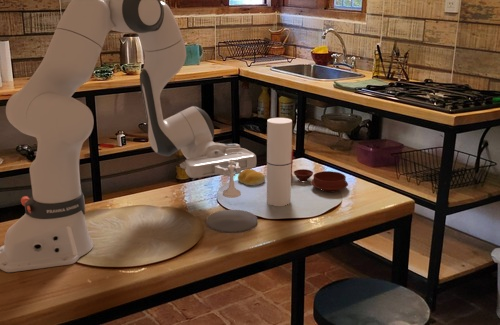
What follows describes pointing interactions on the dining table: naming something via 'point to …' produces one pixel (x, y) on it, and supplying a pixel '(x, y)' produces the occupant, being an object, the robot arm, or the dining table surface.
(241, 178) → the bread roll
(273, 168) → the cylindrical container
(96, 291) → the dining table surface
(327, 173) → the pottery
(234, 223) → the charcoal plate
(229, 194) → the chess piece
